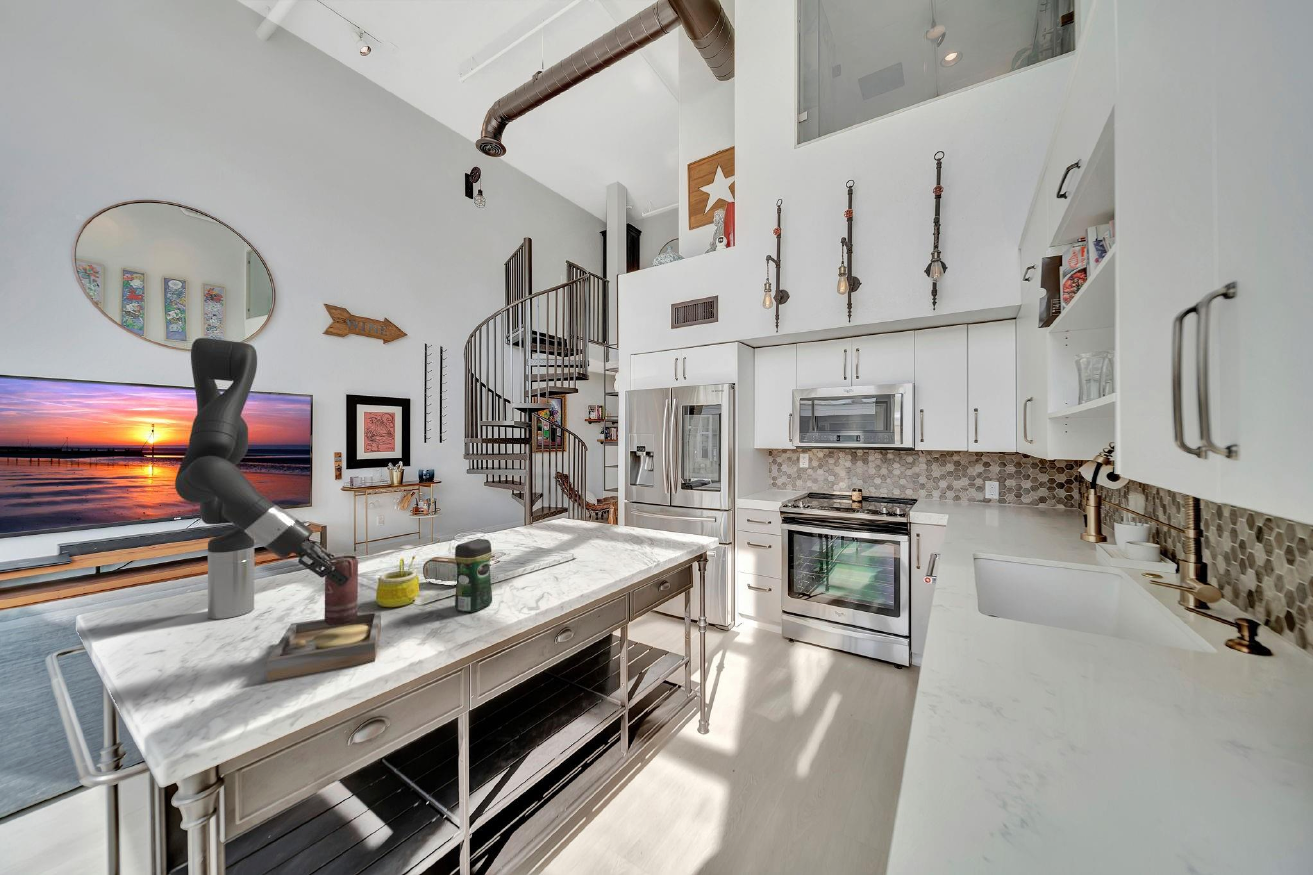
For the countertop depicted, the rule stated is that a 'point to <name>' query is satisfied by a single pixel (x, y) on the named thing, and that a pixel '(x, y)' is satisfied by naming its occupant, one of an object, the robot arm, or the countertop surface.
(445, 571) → the tin
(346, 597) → the can
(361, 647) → the carrier tray
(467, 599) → the coffee jar
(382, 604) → the yellow pot
